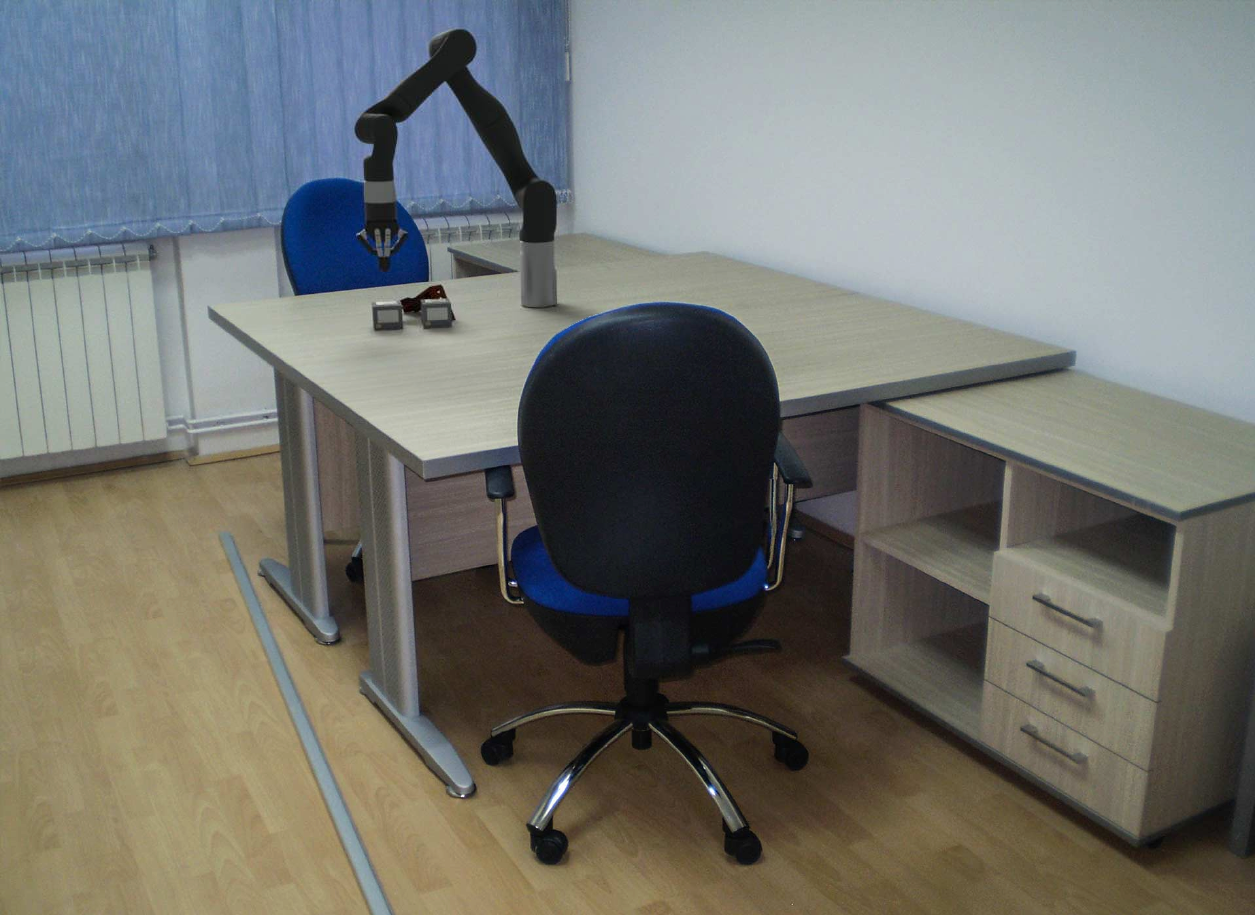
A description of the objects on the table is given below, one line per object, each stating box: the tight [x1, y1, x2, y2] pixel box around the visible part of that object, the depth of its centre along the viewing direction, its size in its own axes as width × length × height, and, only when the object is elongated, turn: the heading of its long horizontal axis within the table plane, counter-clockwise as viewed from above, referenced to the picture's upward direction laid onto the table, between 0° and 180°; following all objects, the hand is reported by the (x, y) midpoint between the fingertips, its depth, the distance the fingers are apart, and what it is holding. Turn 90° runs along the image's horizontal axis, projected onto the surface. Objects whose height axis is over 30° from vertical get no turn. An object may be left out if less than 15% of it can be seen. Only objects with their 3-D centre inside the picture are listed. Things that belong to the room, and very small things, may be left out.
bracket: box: [399, 284, 457, 322], centre depth 325 cm, size 10×14×10 cm
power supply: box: [371, 300, 404, 332], centre depth 314 cm, size 7×6×6 cm
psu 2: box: [420, 298, 453, 329], centre depth 317 cm, size 7×6×6 cm
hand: (384, 271), depth 311 cm, fingers closed
